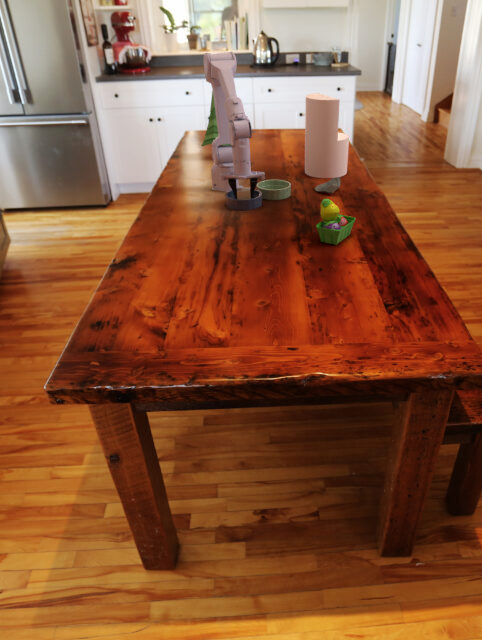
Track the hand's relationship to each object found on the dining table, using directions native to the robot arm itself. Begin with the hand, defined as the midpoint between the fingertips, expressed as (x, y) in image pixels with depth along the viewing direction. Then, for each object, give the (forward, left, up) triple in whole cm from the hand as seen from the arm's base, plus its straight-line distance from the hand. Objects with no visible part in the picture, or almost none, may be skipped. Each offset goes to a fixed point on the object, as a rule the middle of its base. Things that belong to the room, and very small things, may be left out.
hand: (244, 200), depth 166 cm
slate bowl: (0, 0, -2) cm, 2 cm away
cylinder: (+10, +49, -2) cm, 50 cm away
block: (0, 0, -1) cm, 1 cm away
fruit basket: (+38, -13, -2) cm, 40 cm away
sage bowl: (+5, +13, -2) cm, 14 cm away
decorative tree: (-42, +50, -2) cm, 65 cm away
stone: (+20, +26, -2) cm, 33 cm away
